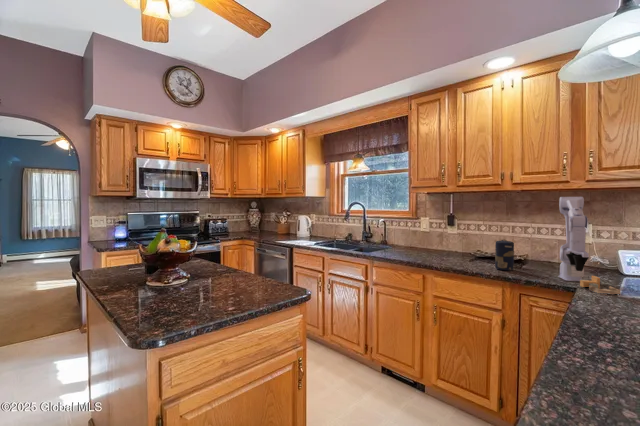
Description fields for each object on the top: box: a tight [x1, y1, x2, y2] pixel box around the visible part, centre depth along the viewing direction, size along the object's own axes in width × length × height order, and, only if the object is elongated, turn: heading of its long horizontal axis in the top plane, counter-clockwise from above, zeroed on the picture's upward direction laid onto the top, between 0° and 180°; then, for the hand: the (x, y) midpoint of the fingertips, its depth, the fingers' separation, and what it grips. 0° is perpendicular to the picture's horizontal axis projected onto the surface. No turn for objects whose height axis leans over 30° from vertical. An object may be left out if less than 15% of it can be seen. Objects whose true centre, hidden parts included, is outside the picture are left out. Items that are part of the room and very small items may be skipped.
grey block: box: [567, 264, 585, 278], centre depth 147 cm, size 4×5×5 cm
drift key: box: [579, 275, 601, 289], centre depth 146 cm, size 4×6×5 cm
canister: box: [494, 239, 515, 271], centre depth 184 cm, size 10×10×18 cm
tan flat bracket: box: [588, 285, 621, 295], centre depth 138 cm, size 6×8×2 cm
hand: (576, 269), depth 147 cm, fingers closed on grey block, 4 cm apart
